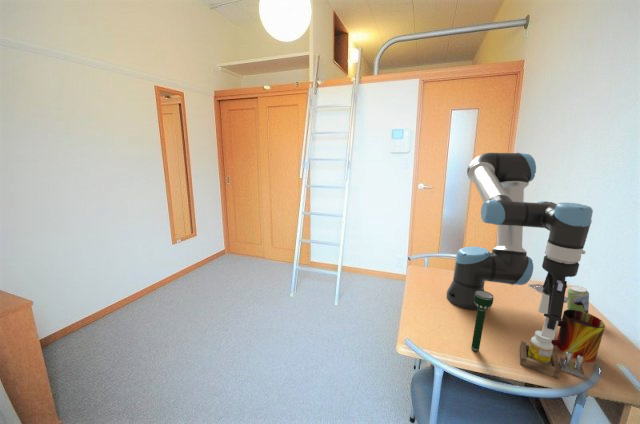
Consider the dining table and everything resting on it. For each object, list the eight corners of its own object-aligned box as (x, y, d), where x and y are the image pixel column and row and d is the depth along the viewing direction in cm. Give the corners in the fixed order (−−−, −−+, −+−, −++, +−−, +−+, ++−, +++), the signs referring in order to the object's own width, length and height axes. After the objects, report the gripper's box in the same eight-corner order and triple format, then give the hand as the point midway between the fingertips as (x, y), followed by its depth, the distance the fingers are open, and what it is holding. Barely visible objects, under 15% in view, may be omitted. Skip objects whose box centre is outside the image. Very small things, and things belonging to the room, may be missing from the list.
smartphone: (540, 283, 134) (571, 299, 119) (539, 285, 134) (571, 301, 119) (526, 284, 133) (557, 300, 118) (526, 286, 133) (556, 302, 118)
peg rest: (561, 370, 81) (564, 356, 80) (559, 360, 85) (562, 346, 84) (584, 378, 79) (588, 363, 77) (580, 367, 83) (584, 353, 81)
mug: (538, 345, 92) (546, 313, 89) (569, 338, 95) (577, 307, 93) (570, 366, 83) (579, 332, 80) (603, 359, 86) (613, 325, 83)
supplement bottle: (551, 371, 81) (558, 342, 79) (529, 365, 83) (536, 338, 81) (544, 358, 86) (551, 331, 84) (524, 353, 88) (530, 327, 86)
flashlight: (487, 354, 87) (497, 297, 83) (474, 356, 86) (483, 299, 82) (475, 343, 92) (484, 289, 88) (462, 345, 91) (470, 290, 87)
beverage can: (591, 322, 105) (599, 293, 102) (569, 319, 106) (576, 291, 104) (579, 312, 111) (586, 285, 108) (558, 310, 112) (565, 283, 110)
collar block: (520, 364, 83) (521, 357, 83) (519, 347, 91) (521, 341, 90) (558, 378, 78) (560, 371, 78) (555, 359, 86) (556, 352, 85)
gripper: (589, 280, 65) (568, 355, 70) (572, 247, 84) (556, 308, 90) (548, 271, 69) (531, 343, 74) (541, 242, 89) (528, 301, 94)
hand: (545, 324), depth 82 cm, fingers open, 13 cm apart
